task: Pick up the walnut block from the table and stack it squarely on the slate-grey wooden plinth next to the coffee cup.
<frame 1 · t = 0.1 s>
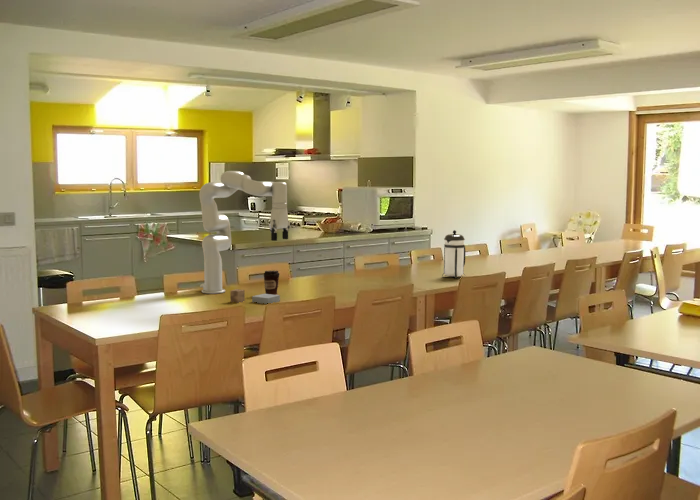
hand: (279, 239, 366), 31 cm above the table, tool pointing down, fingers open, 9 cm apart
walnut block: (237, 301, 364), on the table
coffee press: (454, 277, 456), on the table
plinth: (266, 301, 364), on the table
coffee cup: (271, 295, 385), on the table
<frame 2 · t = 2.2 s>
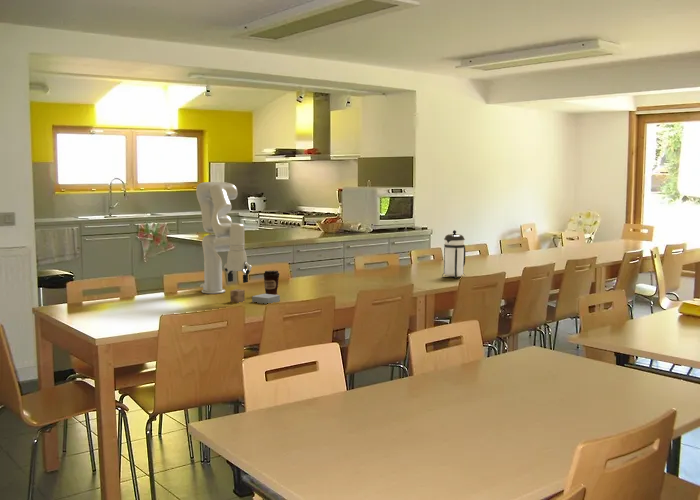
hand: (237, 281, 362), 10 cm above the table, tool pointing down, fingers open, 9 cm apart
nothing on the table moved.
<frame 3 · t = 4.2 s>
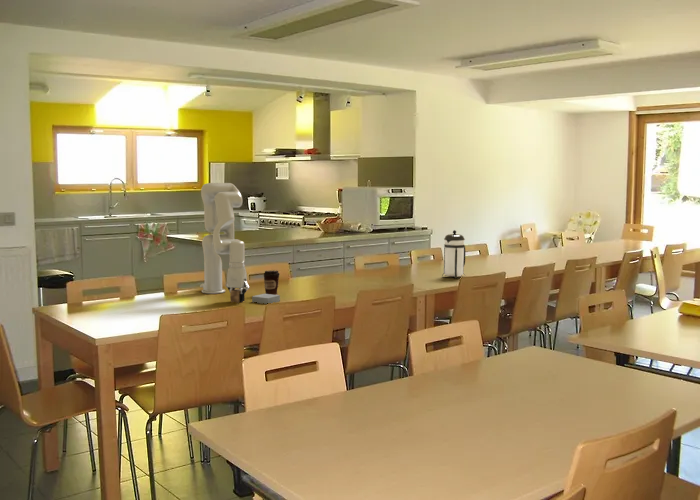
hand: (237, 300, 363), 1 cm above the table, tool pointing down, fingers closed on walnut block, 5 cm apart
walnut block: (237, 301, 364), on the table, touching gripper
everything else where it was.
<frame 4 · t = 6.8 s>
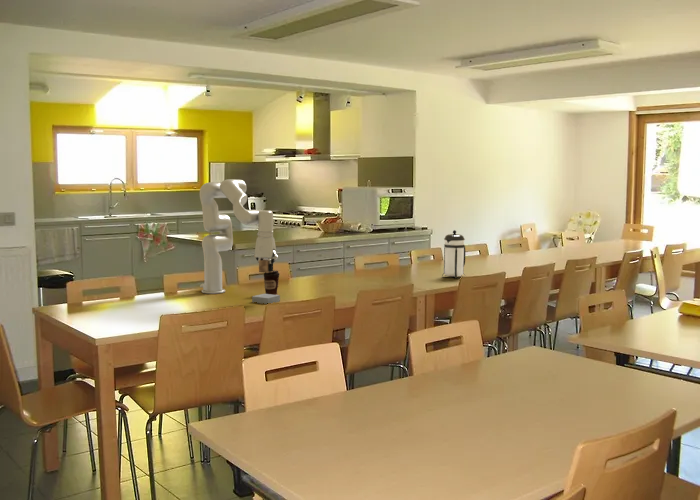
hand: (266, 270, 363), 16 cm above the table, tool pointing down, fingers closed on walnut block, 5 cm apart
walnut block: (266, 271, 363), point 15 cm above the table, touching gripper
everything else where it was.
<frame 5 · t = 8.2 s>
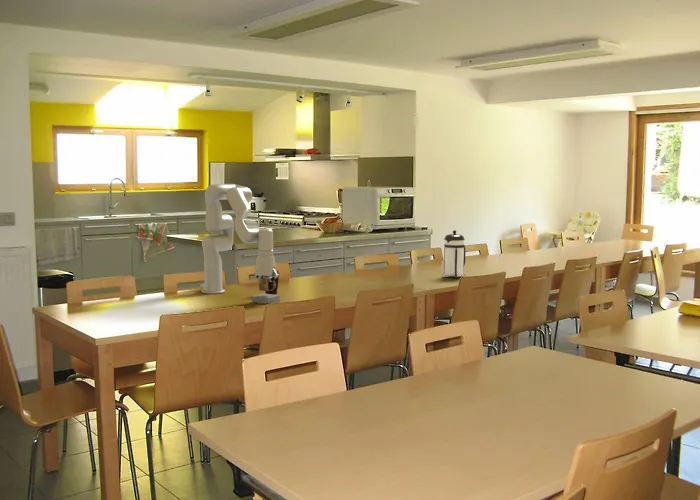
hand: (266, 288, 363), 7 cm above the table, tool pointing down, fingers closed on walnut block, 5 cm apart
walnut block: (266, 290, 364), point 6 cm above the table, touching gripper
everything else where it was.
when the fingers open (5 cm above the table, at t = 9.4 s): walnut block drops 1 cm, resting on plinth.
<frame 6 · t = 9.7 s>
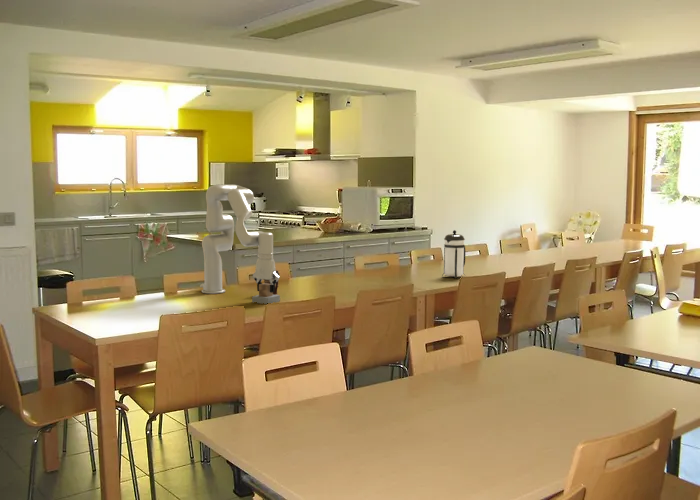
hand: (266, 291, 364), 5 cm above the table, tool pointing down, fingers open, 7 cm apart
walnut block: (265, 295, 364), point 3 cm above the table, touching plinth
everything else where it was.
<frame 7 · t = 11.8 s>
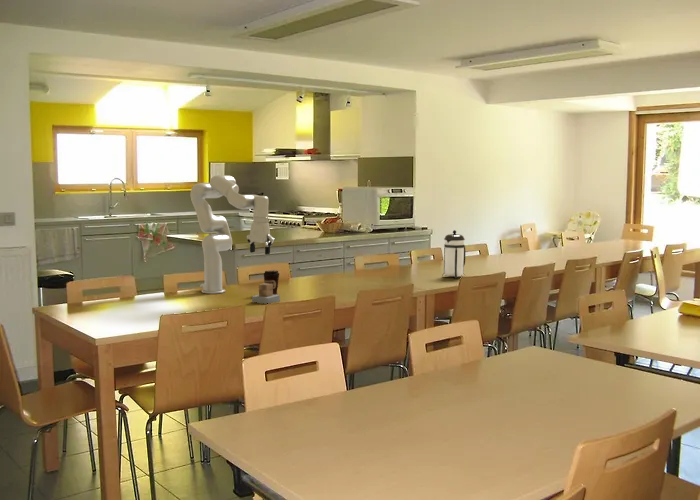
hand: (259, 253, 368), 24 cm above the table, tool pointing down, fingers open, 9 cm apart
nothing on the table moved.
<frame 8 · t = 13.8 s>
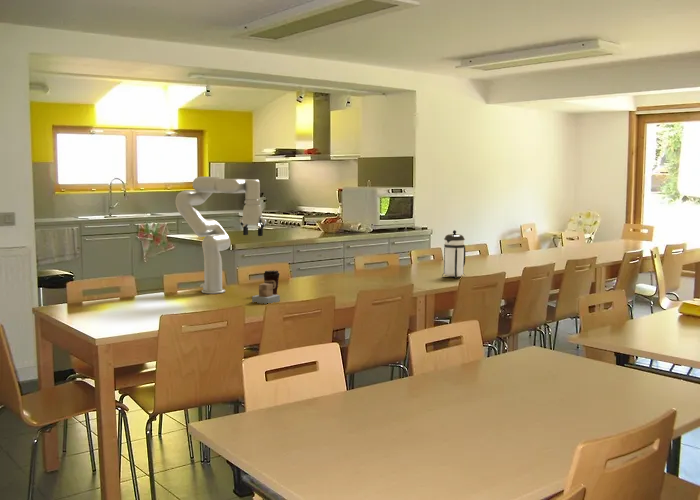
hand: (252, 235, 378), 32 cm above the table, tool pointing down, fingers open, 9 cm apart
nothing on the table moved.
at the end: walnut block 0.1 cm off-centre on the plinth, point 3.0 cm above the plinth's base; walnut block tilted 0°; the gripper is holding nothing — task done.
